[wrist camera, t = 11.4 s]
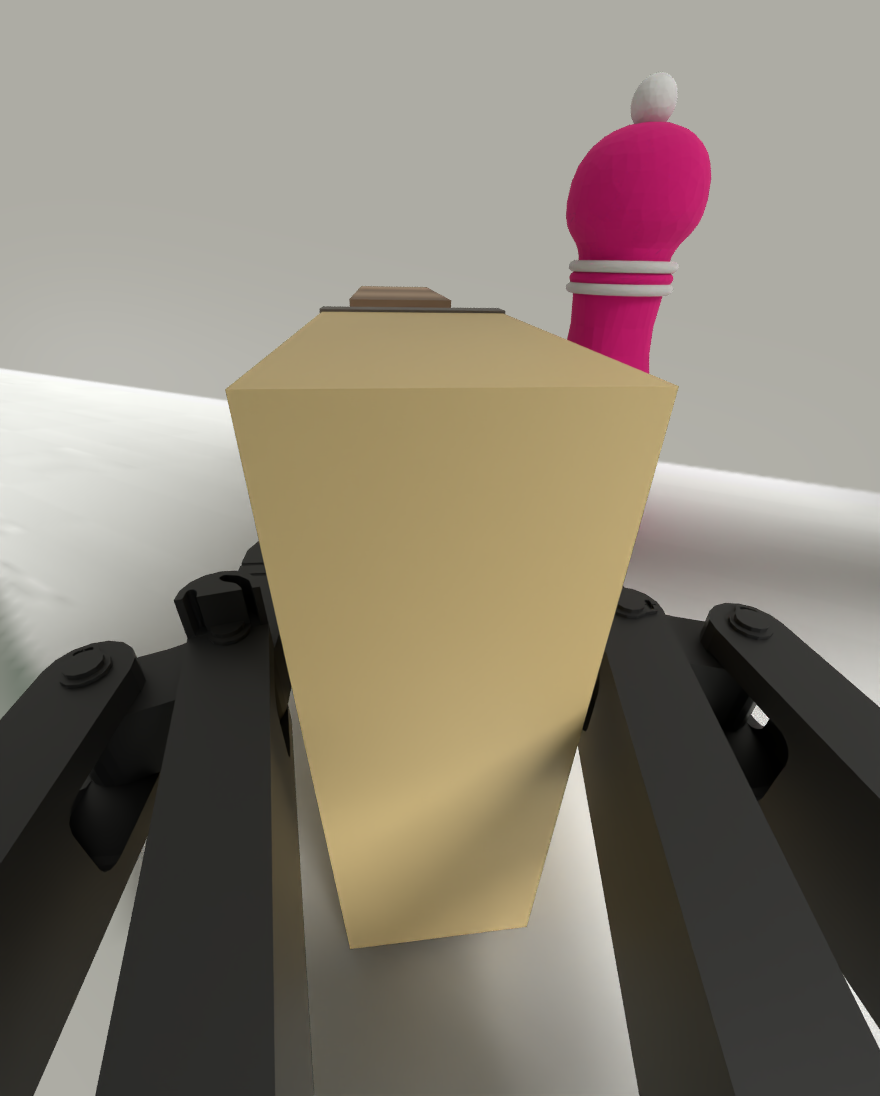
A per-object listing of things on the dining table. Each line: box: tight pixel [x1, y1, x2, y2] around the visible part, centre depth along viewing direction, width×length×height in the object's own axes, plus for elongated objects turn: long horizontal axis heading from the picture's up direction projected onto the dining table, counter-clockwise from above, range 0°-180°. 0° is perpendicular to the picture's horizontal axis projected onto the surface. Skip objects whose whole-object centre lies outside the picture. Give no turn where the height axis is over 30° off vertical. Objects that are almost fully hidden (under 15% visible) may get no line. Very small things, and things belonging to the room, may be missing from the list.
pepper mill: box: [566, 72, 711, 374], centre depth 24 cm, size 7×7×20 cm
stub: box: [225, 306, 679, 949], centre depth 11 cm, size 8×4×12 cm, turn 6°
